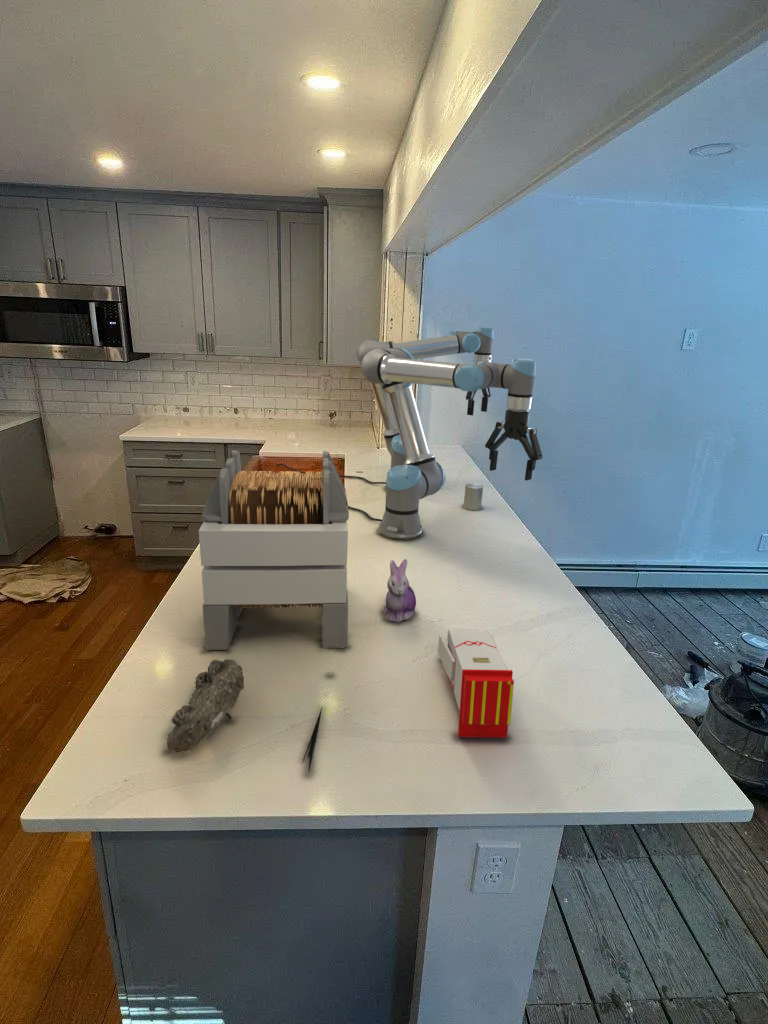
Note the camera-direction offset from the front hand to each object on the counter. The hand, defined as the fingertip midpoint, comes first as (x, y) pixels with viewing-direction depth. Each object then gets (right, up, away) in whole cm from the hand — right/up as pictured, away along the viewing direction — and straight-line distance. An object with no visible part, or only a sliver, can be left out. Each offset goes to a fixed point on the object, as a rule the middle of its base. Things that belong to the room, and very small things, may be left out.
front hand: (509, 474), depth 185 cm
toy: (-23, -50, -67) cm, 86 cm away
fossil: (-74, -51, -77) cm, 118 cm away
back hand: (+1, +32, +69) cm, 76 cm away
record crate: (-67, -38, -40) cm, 87 cm away
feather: (-54, -52, -77) cm, 107 cm away
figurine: (-37, -39, -38) cm, 66 cm away
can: (-5, -10, +45) cm, 47 cm away
